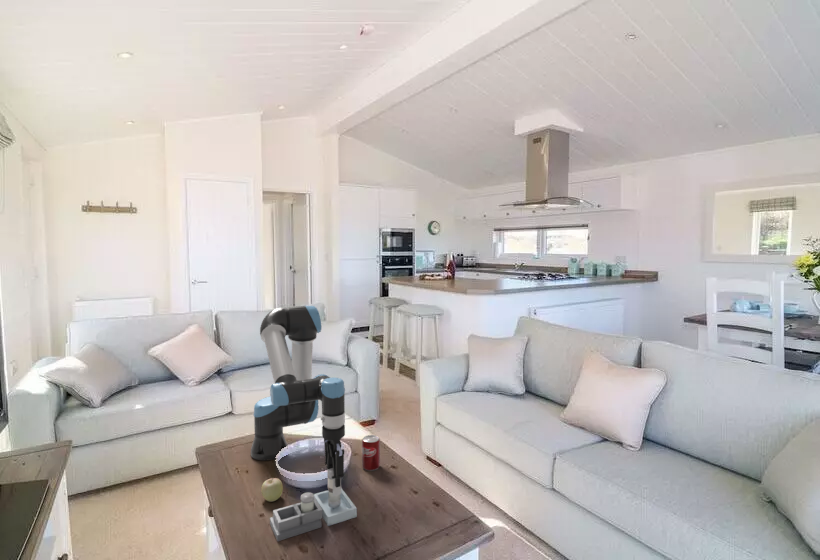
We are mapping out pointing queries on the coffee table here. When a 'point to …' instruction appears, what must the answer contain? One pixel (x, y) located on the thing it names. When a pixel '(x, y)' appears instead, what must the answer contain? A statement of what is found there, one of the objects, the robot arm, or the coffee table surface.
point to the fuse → (332, 500)
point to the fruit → (272, 489)
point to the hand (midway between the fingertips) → (334, 490)
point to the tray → (338, 513)
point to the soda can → (371, 452)
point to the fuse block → (296, 518)
